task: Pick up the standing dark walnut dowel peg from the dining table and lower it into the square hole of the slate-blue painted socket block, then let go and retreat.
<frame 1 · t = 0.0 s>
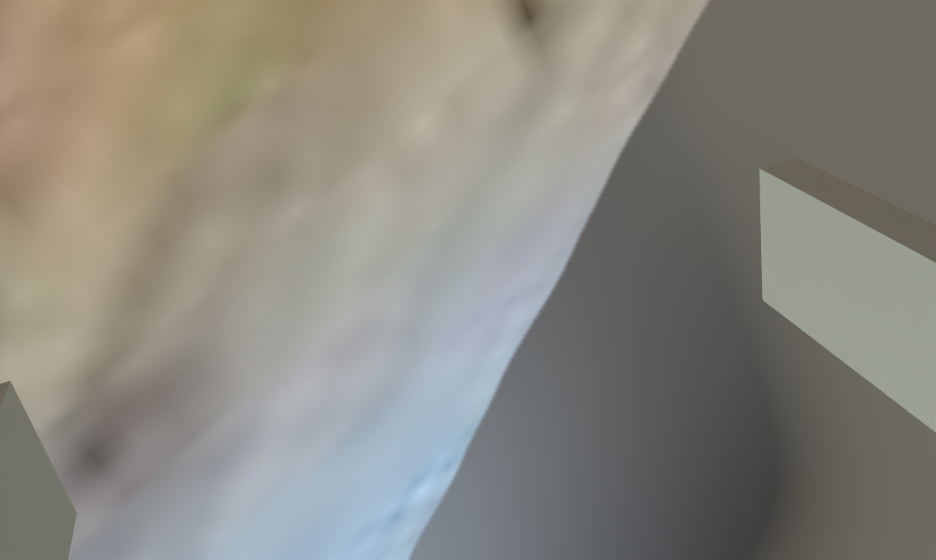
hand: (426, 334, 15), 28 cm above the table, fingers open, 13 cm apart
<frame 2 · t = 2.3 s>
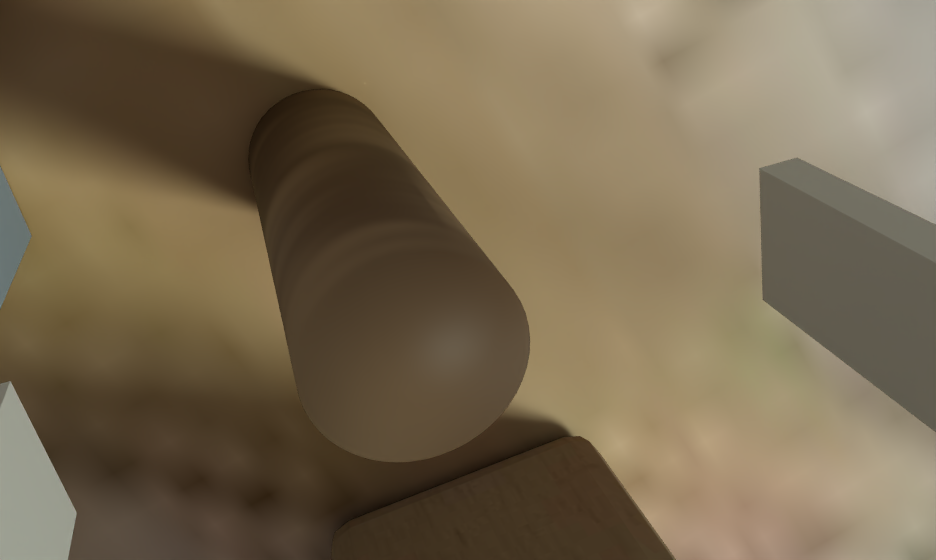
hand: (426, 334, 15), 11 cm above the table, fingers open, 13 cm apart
walnut peg: (320, 159, 25), on the table
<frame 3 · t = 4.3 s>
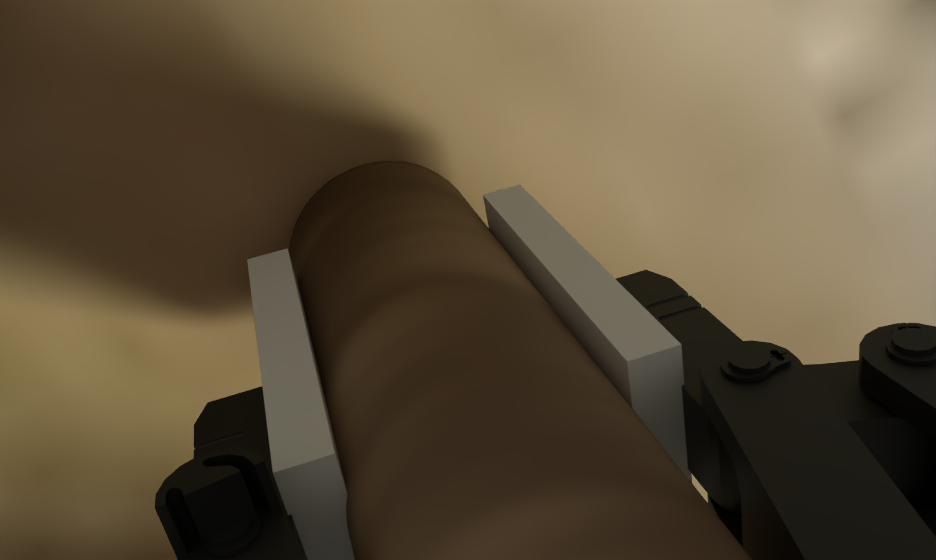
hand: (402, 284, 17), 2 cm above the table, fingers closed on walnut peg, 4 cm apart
walnut peg: (386, 253, 18), on the table, touching gripper
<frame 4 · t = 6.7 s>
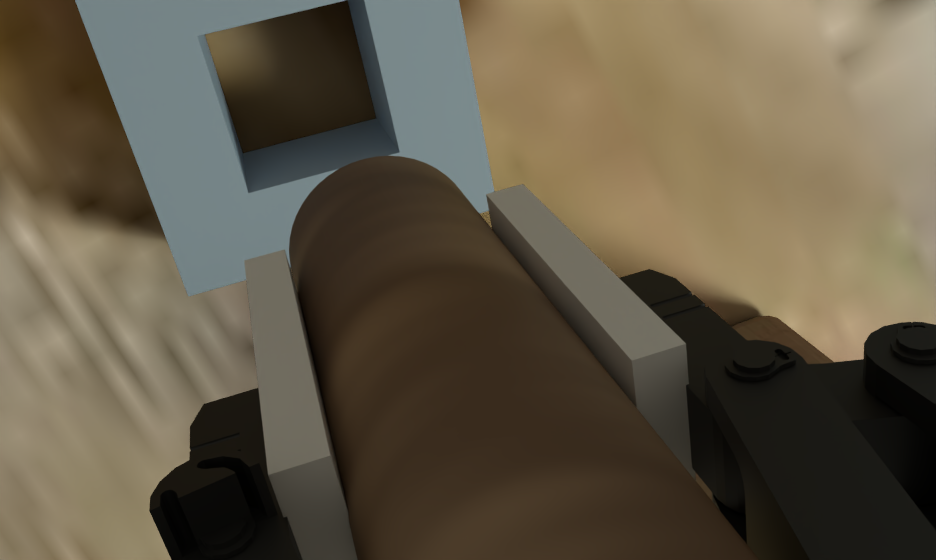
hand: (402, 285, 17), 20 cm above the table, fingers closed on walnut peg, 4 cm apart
socket block: (291, 68, 35), on the table
wooden block: (694, 408, 48), on the table
walnut peg: (385, 247, 19), point 19 cm above the table, touching gripper
when the fingers open (6 cm above the table, at t = 9.0 s): walnut peg drops 4 cm, resting in socket block.
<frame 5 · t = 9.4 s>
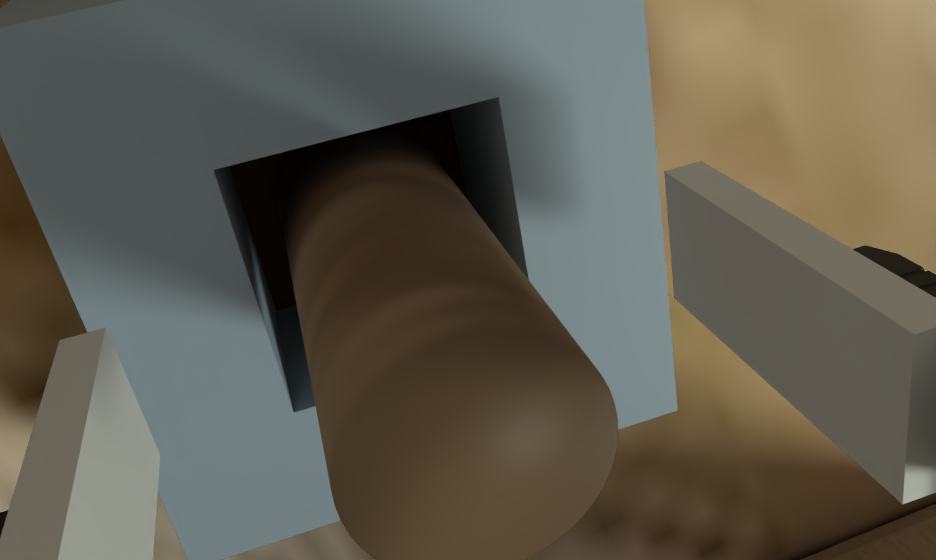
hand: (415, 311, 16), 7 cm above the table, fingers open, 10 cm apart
socket block: (354, 185, 22), on the table
walnut peg: (355, 183, 22), resting in socket block
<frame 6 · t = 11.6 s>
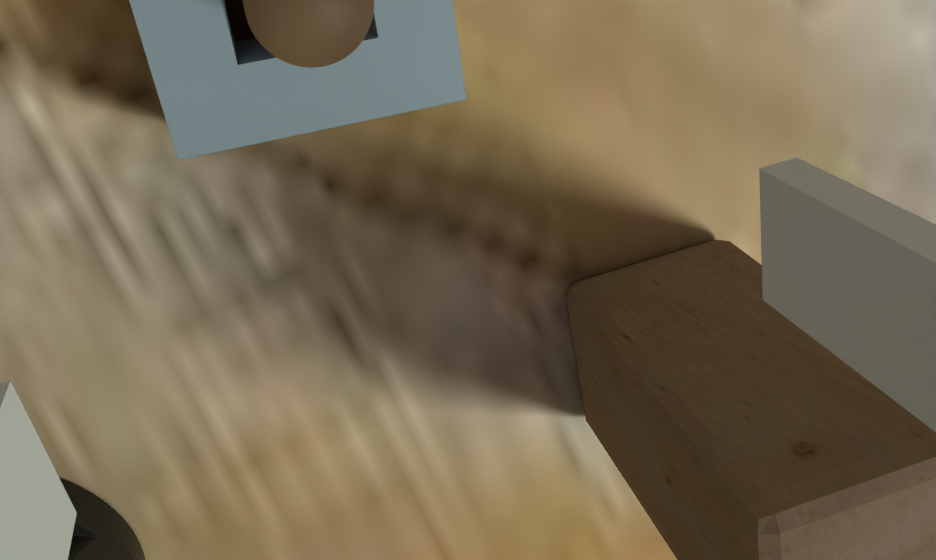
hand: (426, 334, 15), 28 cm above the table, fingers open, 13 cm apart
wooden block: (650, 328, 51), on the table
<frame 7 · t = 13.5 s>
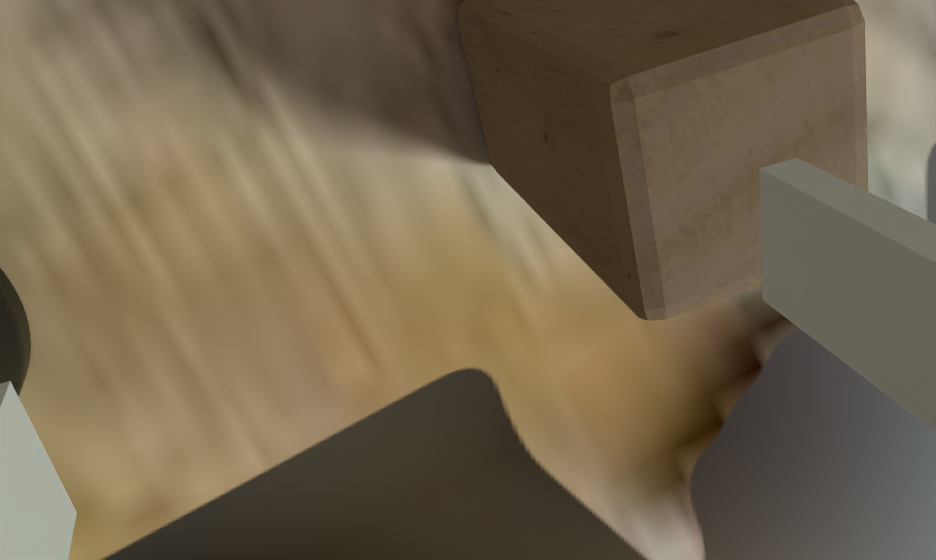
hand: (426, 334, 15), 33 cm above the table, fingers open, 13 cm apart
wooden block: (553, 62, 49), on the table
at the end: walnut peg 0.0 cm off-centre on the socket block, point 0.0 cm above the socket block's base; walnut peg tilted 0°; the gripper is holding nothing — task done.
